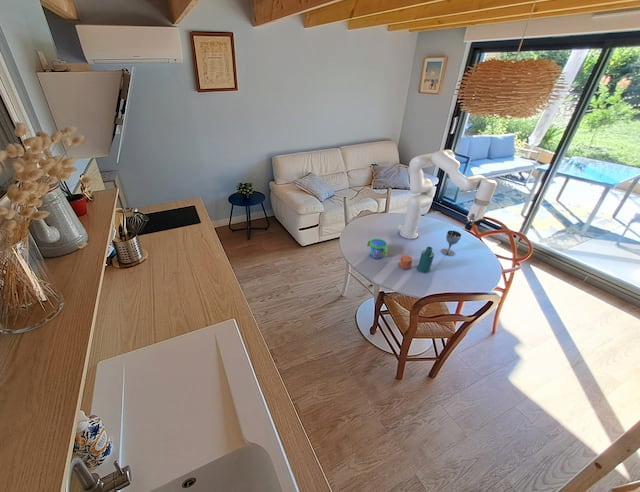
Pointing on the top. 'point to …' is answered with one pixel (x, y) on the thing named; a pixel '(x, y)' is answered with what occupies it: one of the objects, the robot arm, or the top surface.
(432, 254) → the bottle
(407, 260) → the cup
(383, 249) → the snack cup
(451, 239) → the wine glass
